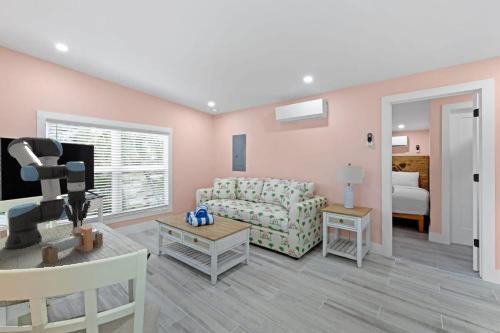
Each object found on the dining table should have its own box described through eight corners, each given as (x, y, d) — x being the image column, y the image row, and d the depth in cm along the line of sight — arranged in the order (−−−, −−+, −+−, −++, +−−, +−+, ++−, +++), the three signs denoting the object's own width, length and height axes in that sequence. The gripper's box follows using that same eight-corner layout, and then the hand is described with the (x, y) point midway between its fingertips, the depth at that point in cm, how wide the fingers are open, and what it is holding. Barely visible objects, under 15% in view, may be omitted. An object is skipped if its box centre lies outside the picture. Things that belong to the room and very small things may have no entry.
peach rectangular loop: (73, 247, 121) (72, 226, 120) (79, 245, 124) (78, 225, 123) (87, 251, 117) (86, 229, 116) (92, 249, 119) (92, 228, 119)
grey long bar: (47, 252, 107) (46, 242, 107) (93, 237, 128) (93, 229, 127) (52, 254, 105) (52, 244, 105) (98, 238, 126) (98, 230, 125)
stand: (42, 261, 106) (41, 247, 106) (95, 242, 130) (94, 231, 129) (50, 264, 104) (50, 250, 103) (102, 244, 127) (102, 232, 127)
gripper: (66, 192, 109) (68, 237, 110) (93, 188, 121) (94, 229, 122) (58, 191, 112) (59, 235, 113) (85, 187, 124) (86, 227, 125)
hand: (78, 232), depth 118 cm, fingers closed
